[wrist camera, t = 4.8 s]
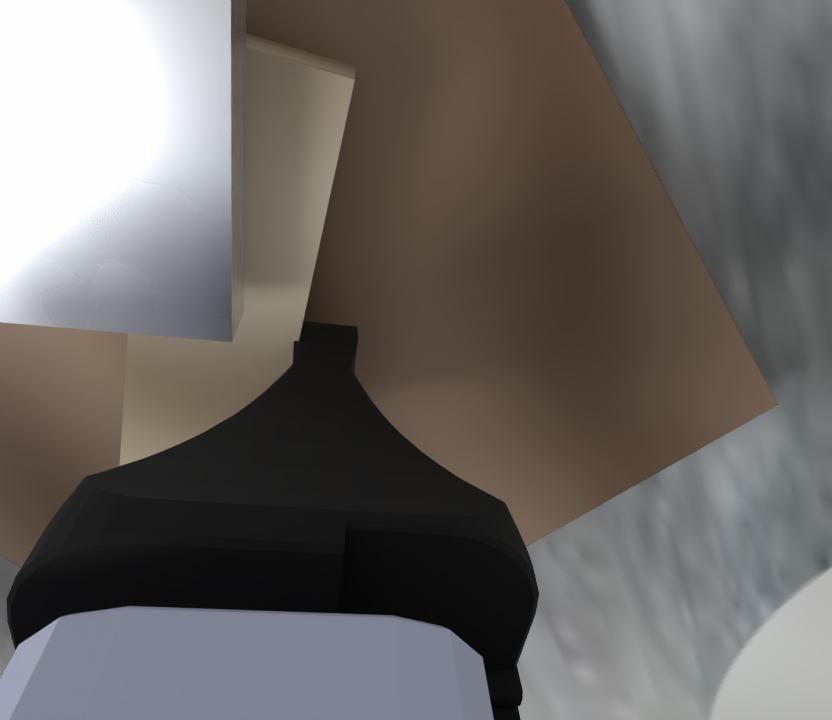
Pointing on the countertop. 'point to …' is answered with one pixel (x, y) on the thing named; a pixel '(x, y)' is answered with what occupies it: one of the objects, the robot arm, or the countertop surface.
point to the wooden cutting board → (457, 276)
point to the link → (251, 255)
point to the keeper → (123, 165)
